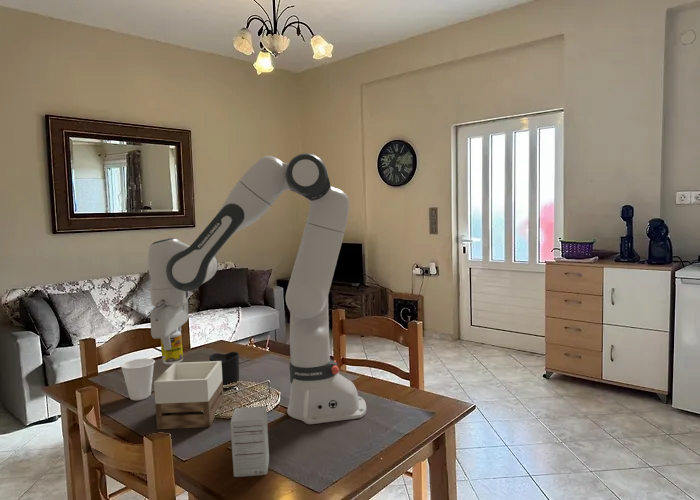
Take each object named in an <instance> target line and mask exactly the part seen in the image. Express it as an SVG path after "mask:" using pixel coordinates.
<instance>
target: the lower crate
mask: <svg viewBox="0 0 700 500" xmlns="http://www.w3.org/2000/svg"><path fill="white" fill-rule="evenodd" d="M223 399H224V389H223V381H222V382H221V384H220V385H219V387H218V388H217V390H216V391H215V393H214V394H213V396H212V397H211V399H210V400H209V402H187V403H163V404H155V416H156V417H155V418H156V430H169V429H171V430H173V429H190V428H191V429H192V428H193V429H194V428H211V426H212V424H213V423H214V421H215V419H216V418H215V412H216V411H217V409H218V408H219V406H220V404H221V402H222V401H223ZM224 400H225V399H224ZM201 411H204V413H203V412H201ZM214 418H215V419H214ZM213 420H214V421H213ZM212 422H213V423H212Z"/></svg>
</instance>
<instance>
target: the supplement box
mask: <svg viewBox="0 0 700 500" xmlns="http://www.w3.org/2000/svg"><path fill="white" fill-rule="evenodd" d="M267 414H268V412H267V406H265V405H264V406H248V407H247V406H246V407H237V408H234V410H233V413H232V416H231V419H230V433H231V434H230V437H231V439H230V440H231V454H232V455H231V457H232V469H233V477H234V478H241V477H253V476H255V477H256V476H264V475H265V476H267V474H268V471H269V464H270V451H269V447H270V446H269V433H268V432H269V431H268V415H267Z"/></svg>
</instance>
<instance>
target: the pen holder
mask: <svg viewBox="0 0 700 500" xmlns="http://www.w3.org/2000/svg"><path fill="white" fill-rule="evenodd" d="M239 354H240V353H238V351H231V352H228V353H218V352H217V353H212V354H210V356H209V357H208V358H209V361H221V363H222V380H223V385H227V384H230V383H233V382H237V381H239V382H240V355H239Z"/></svg>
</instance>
